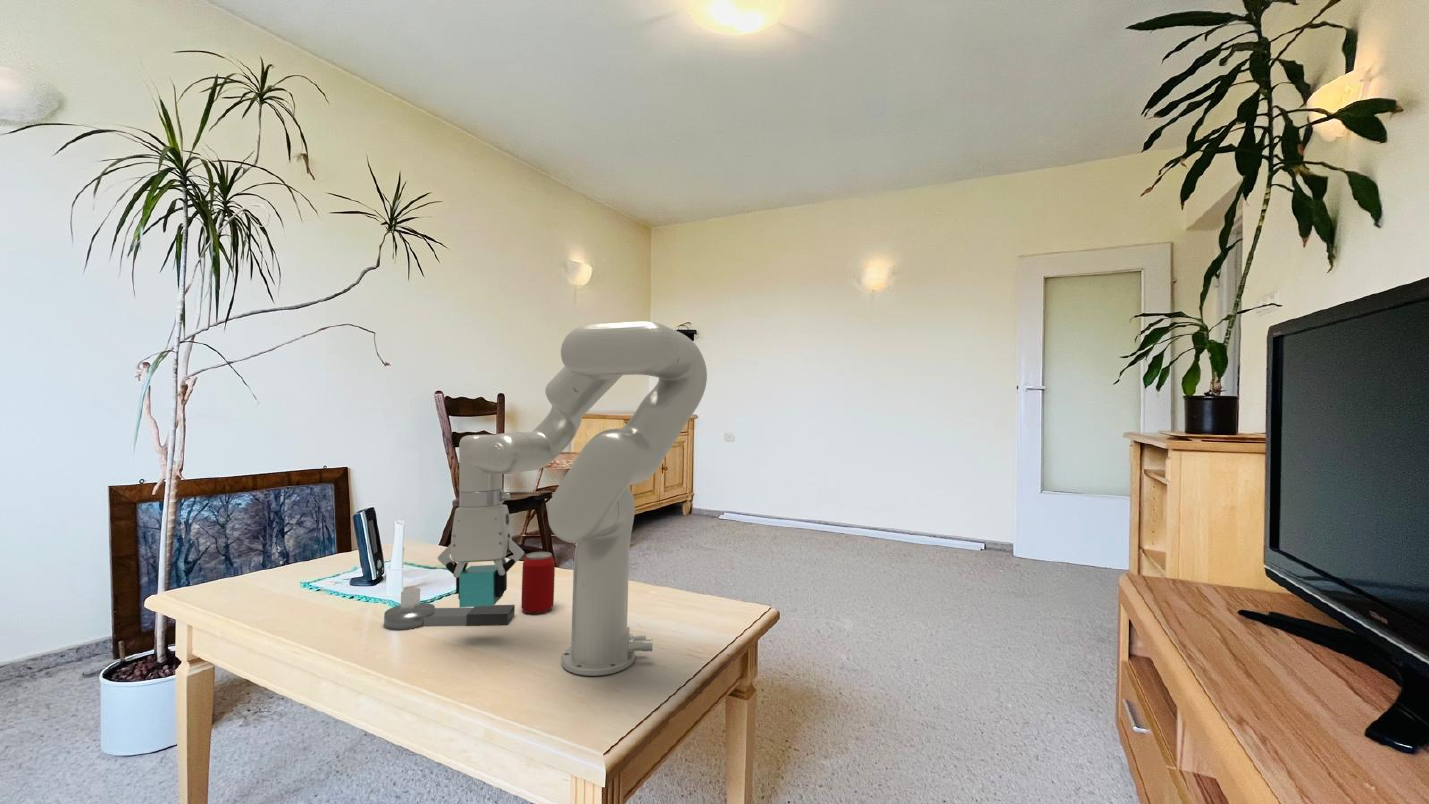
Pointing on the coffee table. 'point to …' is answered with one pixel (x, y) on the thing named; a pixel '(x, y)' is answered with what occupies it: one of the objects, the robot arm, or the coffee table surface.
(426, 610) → the ratchet
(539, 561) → the beverage can
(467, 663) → the coffee table surface
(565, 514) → the robot arm
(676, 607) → the coffee table surface
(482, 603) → the teal cube
